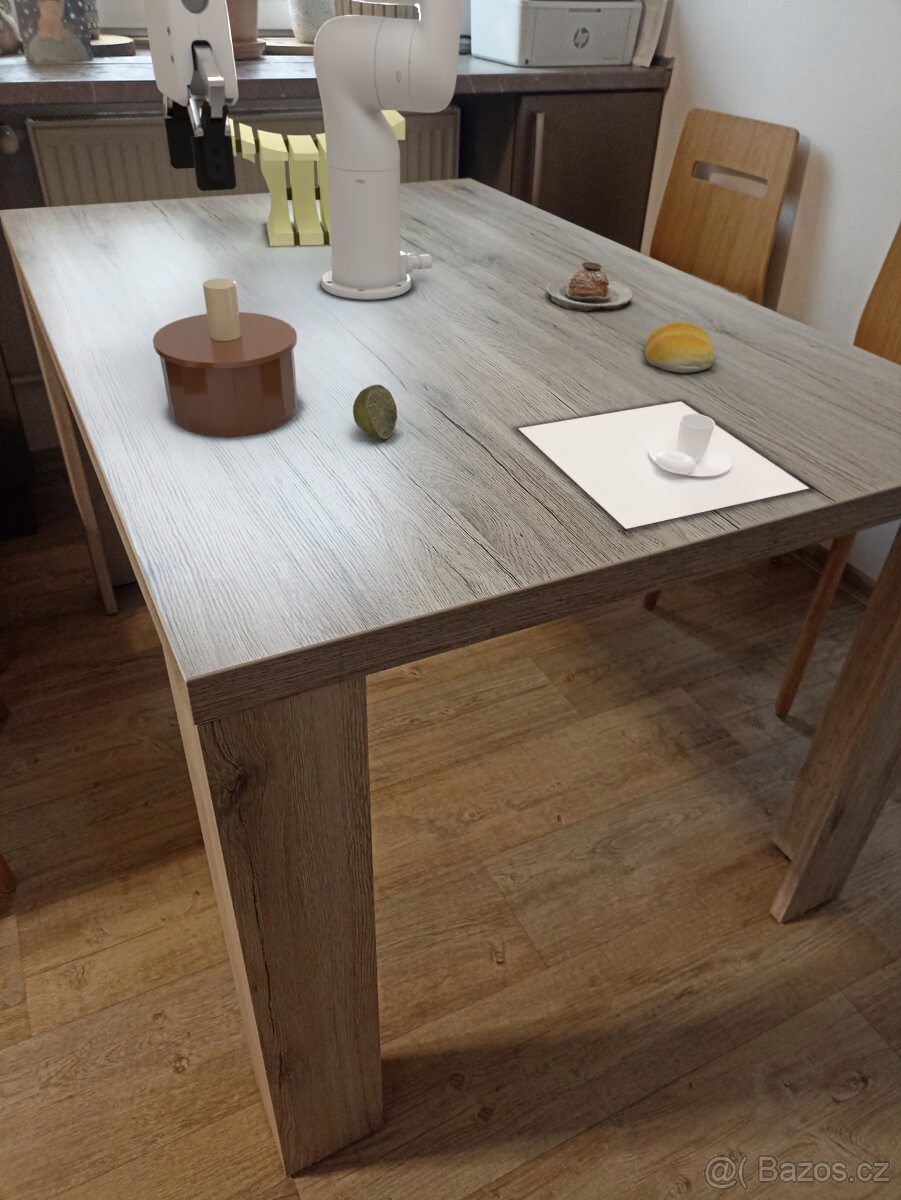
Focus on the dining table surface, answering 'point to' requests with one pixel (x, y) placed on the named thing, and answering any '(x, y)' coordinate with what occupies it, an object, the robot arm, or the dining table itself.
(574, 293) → the pastry
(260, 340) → the lid
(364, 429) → the lime
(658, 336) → the bread roll
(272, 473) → the dining table surface
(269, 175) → the slatted curved stool
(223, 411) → the pot
